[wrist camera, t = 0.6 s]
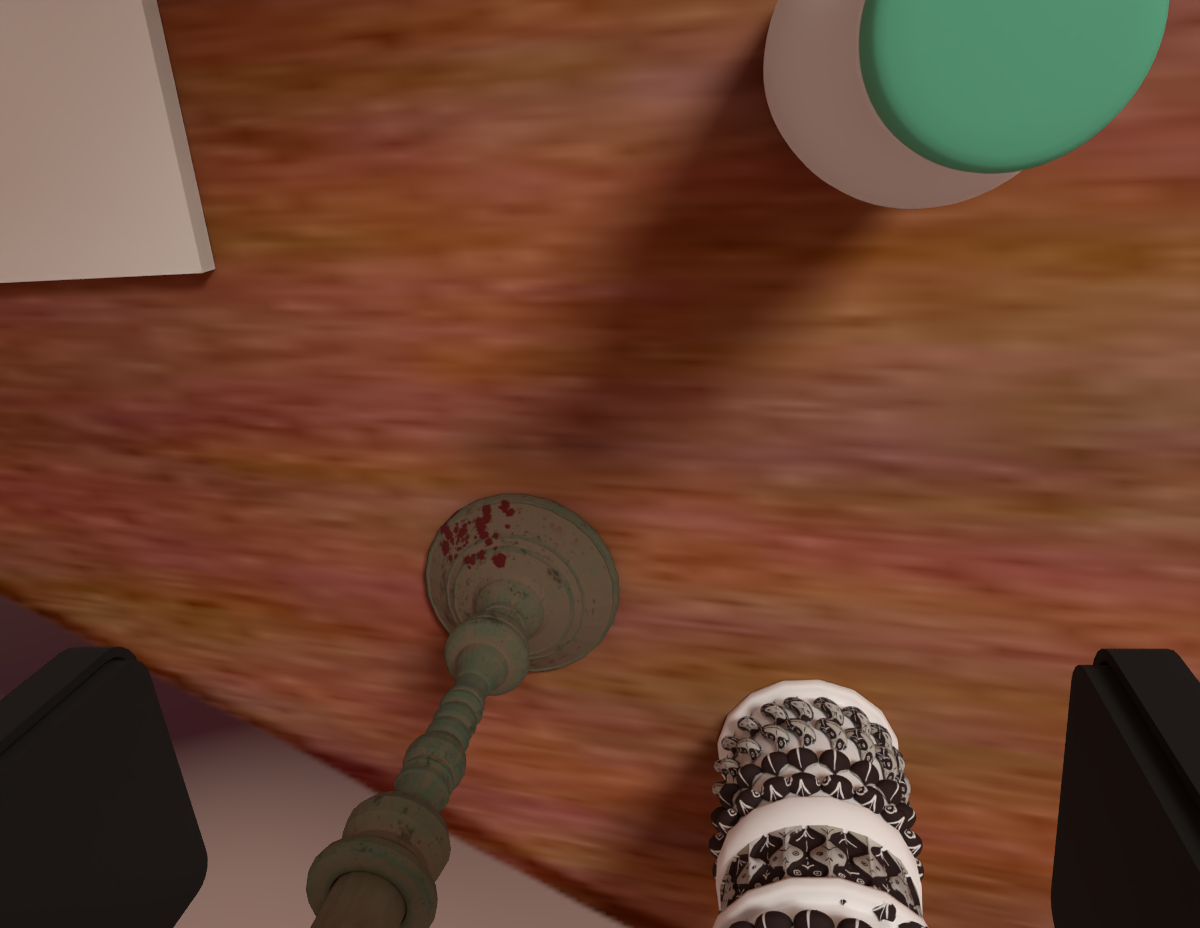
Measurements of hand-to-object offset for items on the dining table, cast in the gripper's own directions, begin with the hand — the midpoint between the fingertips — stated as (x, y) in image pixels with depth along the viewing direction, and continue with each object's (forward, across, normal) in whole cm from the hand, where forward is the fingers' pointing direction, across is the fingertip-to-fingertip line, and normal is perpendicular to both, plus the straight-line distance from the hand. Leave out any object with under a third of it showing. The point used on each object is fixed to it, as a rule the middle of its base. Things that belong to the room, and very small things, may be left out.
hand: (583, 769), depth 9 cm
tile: (+29, +28, -9) cm, 42 cm away
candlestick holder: (+30, +10, +14) cm, 34 cm away
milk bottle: (+30, -6, -7) cm, 31 cm away
